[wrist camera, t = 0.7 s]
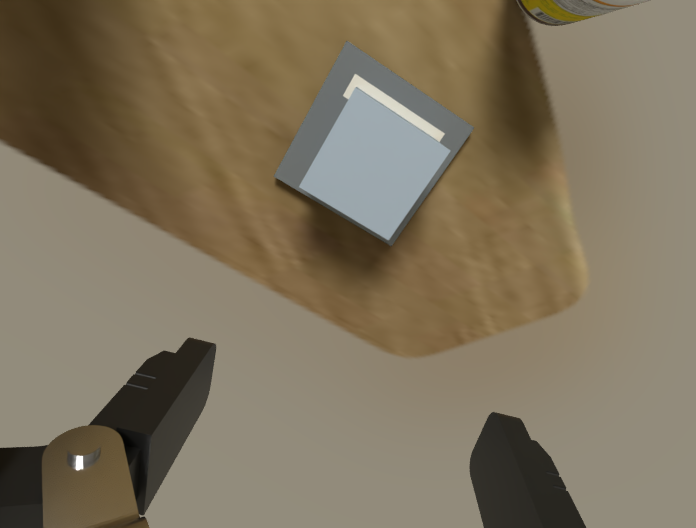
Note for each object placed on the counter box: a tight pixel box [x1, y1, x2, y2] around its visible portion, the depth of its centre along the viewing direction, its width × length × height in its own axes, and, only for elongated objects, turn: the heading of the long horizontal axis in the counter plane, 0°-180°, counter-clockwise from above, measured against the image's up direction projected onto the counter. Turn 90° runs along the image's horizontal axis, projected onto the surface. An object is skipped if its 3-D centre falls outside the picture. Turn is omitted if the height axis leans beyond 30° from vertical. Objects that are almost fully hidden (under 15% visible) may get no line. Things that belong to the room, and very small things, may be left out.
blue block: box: [299, 87, 450, 240], centre depth 24 cm, size 6×6×6 cm
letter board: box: [274, 41, 474, 246], centre depth 27 cm, size 9×9×1 cm
